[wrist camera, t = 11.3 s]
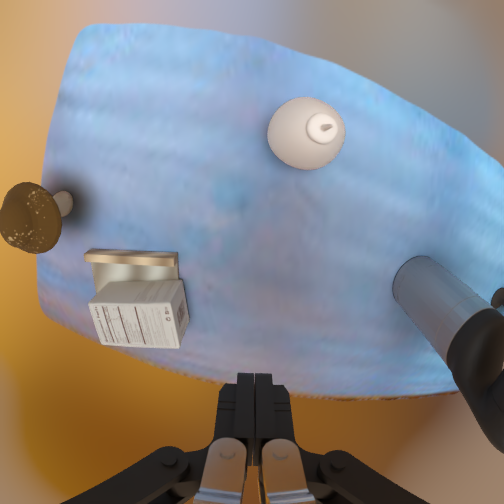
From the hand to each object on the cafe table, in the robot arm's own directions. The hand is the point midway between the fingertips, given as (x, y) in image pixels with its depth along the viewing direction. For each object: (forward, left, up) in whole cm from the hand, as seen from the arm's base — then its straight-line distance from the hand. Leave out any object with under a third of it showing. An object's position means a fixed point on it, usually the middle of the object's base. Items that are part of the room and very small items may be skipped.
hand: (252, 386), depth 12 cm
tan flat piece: (+18, +12, -29) cm, 36 cm away
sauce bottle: (-5, -12, -29) cm, 32 cm away
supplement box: (+9, +12, -25) cm, 29 cm away
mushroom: (+28, -3, -29) cm, 41 cm away
